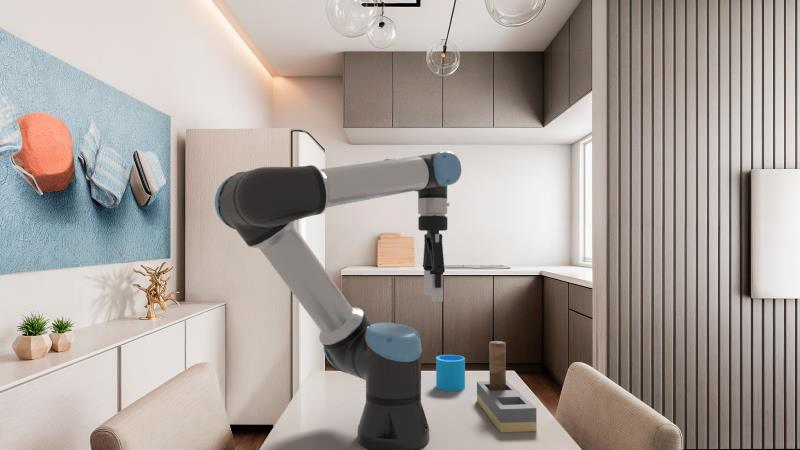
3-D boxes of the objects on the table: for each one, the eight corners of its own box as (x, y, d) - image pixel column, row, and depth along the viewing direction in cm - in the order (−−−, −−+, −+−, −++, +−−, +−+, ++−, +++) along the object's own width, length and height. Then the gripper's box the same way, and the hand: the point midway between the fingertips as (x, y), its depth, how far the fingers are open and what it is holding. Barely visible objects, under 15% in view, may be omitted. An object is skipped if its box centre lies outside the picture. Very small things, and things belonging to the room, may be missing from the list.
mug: (467, 390, 146) (467, 361, 146) (438, 391, 146) (438, 361, 146) (460, 379, 158) (460, 351, 158) (433, 379, 158) (432, 352, 158)
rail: (536, 431, 116) (536, 408, 116) (500, 432, 115) (500, 409, 115) (507, 400, 138) (507, 380, 138) (476, 400, 137) (476, 381, 137)
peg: (497, 402, 129) (497, 345, 129) (486, 398, 132) (485, 342, 133) (509, 399, 131) (509, 343, 132) (497, 395, 135) (497, 340, 135)
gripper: (456, 213, 125) (457, 303, 124) (439, 217, 149) (439, 292, 149) (425, 213, 124) (425, 304, 123) (412, 217, 149) (413, 292, 148)
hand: (433, 298), depth 136 cm, fingers open, 13 cm apart
